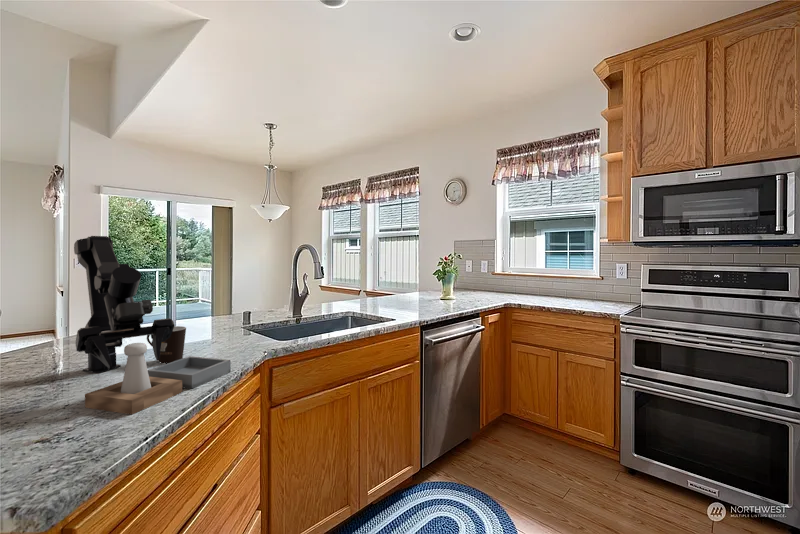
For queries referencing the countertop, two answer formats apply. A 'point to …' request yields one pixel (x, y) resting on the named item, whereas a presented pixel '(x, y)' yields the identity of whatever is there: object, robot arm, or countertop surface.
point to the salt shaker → (135, 369)
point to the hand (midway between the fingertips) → (135, 363)
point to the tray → (192, 370)
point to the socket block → (132, 396)
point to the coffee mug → (172, 345)
